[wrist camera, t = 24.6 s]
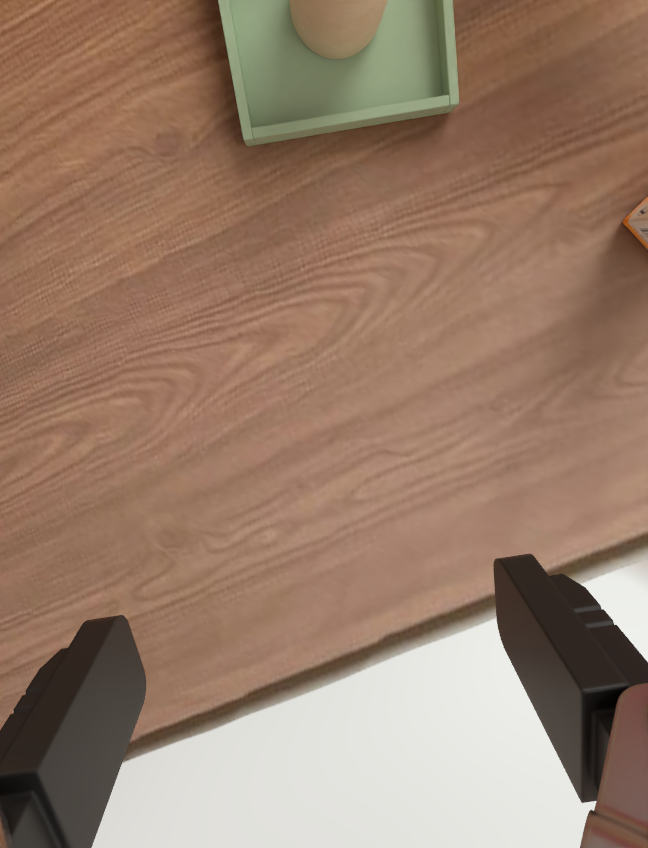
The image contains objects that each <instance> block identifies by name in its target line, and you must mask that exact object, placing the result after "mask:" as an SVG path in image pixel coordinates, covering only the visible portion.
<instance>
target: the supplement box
mask: <svg viewBox="0 0 648 848" xmlns="http://www.w3.org/2000/svg"><path fill="white" fill-rule="evenodd" d="M623 223H624V225H625V226H626V227H627V228H629V230H630V231H631V232H632V233H633V234H634V235H635V237H636V238H638V239H639V241H640V242H641V243H642V244H643V245H644V246H645V247H646V249H647V250H648V196H647V197H646V198H645V199H644V200H643V201H642V202H641V203H640V204H639V205H638V206H637V207H636V208H635V209H634V210H633V211H632V212H631V213H630V214H629V215H628V216H627V217H626V218H625V219H624V220H623Z"/></svg>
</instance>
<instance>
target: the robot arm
mask: <svg viewBox="0 0 648 848" xmlns="http://www.w3.org/2000/svg"><path fill="white" fill-rule="evenodd" d="M494 583H495V599H496V615H497V624H498V629H499V633H500V637H501V640H502V643H503V646H504V648H505V651H506V652H507V655H508V656H509V658H510V660H511V663H512V665H513V667H514V668H515V671H516V672H517V675H518V677H519V679H520V681H521V683H522V685H523V687H524V689H525V691H526V693H527V695H528V697H529V699H530V701H531V703H532V704H533V706H534V709H535V710H536V712H537V715H538V717H539V719H540V720H541V722H542V725H543V726H544V729H545V730H546V733H547V735H548V736H549V738H550V741H551V743H552V745H553V746H554V749H555V751H556V752H557V754H558V756H559V758H560V760H561V762H562V764H563V766H564V768H565V770H566V772H567V774H568V776H569V778H570V780H571V782H572V784H573V786H574V788H575V790H576V792H577V794H578V796H579V798H580V800H581V802H582V803H584V802H590V801H597V803H596V806H595V810H594V811H592V810H590V811H589V814H588V816H587V820H586V823H585V828H584V832H583V837H582V841H581V846H580V848H648V662H647V661H646V660H645V659H644V658H643V656H642V655H641V654H640V653H639V651H638V650H637V649H636V648H635V647H634V645H633V644H632V643H631V642H630V641H629V639H628V638H627V637H626V636H625V635H624V633H623V632H622V631H621V630H620V629H619V627H618V626H617V625H614V623H613V620H612V619H611V618H610V617H609V615H608V614H607V613H606V612H605V611H604V610H602V609H601V607H600V605H599V603H598V602H597V601H596V600H595V599H594V597H593V596H592V595H591V594H590V593H589V591H588V590H587V589H586V588H585V587H583V586H582V585H580V584H578V583H577V582H575V581H574V580H572V579H570V578H569V577H567V576H565V575H564V574H559V575H552V576H548V574H547V573H546V572H545V570H544V569H543V568H542V566H541V565H540V564H539V562H538V561H537V560H536V558H535V557H534V556H533V555H532V554H525V555H518V556H512V557H505V558H499V559H495V561H494ZM145 693H146V677H145V671H144V668H143V665H142V662H141V659H140V656H139V653H138V650H137V647H136V644H135V641H134V638H133V635H132V632H131V629H130V626H129V623H128V621H127V619H126V618H125V617H124V616H123V615H119V616H113V617H106V618H99V619H93V620H87V621H85V622H84V623H83V624H82V626H81V627H80V629H79V631H78V632H77V634H76V636H75V637H74V639H73V641H72V642H71V644H70V646H69V647H68V648H65V649H61V650H60V651H59V652H57V653H56V654H55V655H54V656H53V657H52V658H51V659H50V660H49V661H48V662H47V663H46V664H45V665H44V666H42V667H41V668H40V669H39V671H38V672H37V674H36V676H35V677H34V679H33V680H32V682H31V683H30V685H29V687H28V688H27V690H26V695H23V696H22V697H21V699H20V701H19V702H18V704H17V705H16V707H15V708H14V714H11V715H10V716H9V718H8V719H7V721H6V723H5V724H4V726H3V727H2V729H1V730H0V848H91V847H92V845H93V842H94V839H95V836H96V833H97V831H98V828H99V825H100V822H101V820H102V817H103V814H104V811H105V808H106V806H107V803H108V800H109V797H110V795H111V792H112V789H113V786H114V783H115V781H116V778H117V775H118V772H119V769H120V767H121V764H122V761H123V759H124V756H125V753H126V750H127V748H128V745H129V742H130V739H131V736H132V734H133V731H134V728H135V725H136V723H137V720H138V717H139V714H140V711H141V709H142V706H143V703H144V699H145Z"/></svg>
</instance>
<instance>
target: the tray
mask: <svg viewBox="0 0 648 848" xmlns="http://www.w3.org/2000/svg"><path fill="white" fill-rule="evenodd" d="M218 4H219V10H220V15H221V21H222V26H223V32H224V37H225V42H226V48H227V53H228V59H229V64H230V70H231V75H232V81H233V86H234V92H235V97H236V103H237V108H238V114H239V119H240V124H241V130H242V135H243V140H244V142H245V144H246V145H247V146H253V145H259V144H265V143H271V142H277V141H283V140H289V139H295V138H301V137H307V136H313V135H319V134H325V133H331V132H337V131H342V130H348V129H354V128H360V127H366V126H372V125H378V124H384V123H390V122H396V121H402V120H408V119H414V118H420V117H426V116H432V115H437V114H443V113H449V112H451V111H452V110H453V109H454V108H455V107H456V106H457V105H458V104H459V90H458V74H457V59H456V43H455V28H454V12H453V0H388V1H387V4H386V7H385V10H384V13H383V16H382V19H381V22H380V25H379V27H378V29H377V32H376V33H375V35H374V37H373V38H372V40H371V41H370V42H369V44H368V45H367V46H366V47H365V48H364V49H362V50H361V51H360V52H359V53H357V54H355V55H353V56H351V57H348V58H344V59H328V58H325V57H322V56H319V55H318V54H316V53H314V52H313V51H312V50H310V49H309V48H308V47H307V46H306V45H305V44H304V42H303V41H302V40H301V38H300V37H299V35H298V33H297V31H296V29H295V27H294V24H293V21H292V17H291V12H290V3H289V0H218Z"/></svg>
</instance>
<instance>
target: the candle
mask: <svg viewBox="0 0 648 848" xmlns="http://www.w3.org/2000/svg"><path fill="white" fill-rule="evenodd" d="M387 1H388V0H289V3H290V12H291V17H292V21H293V24H294V27H295V29H296V31H297V33H298V35H299V37H300V38H301V40H302V41H303V42H304V44H305V45H306V46H307V47H308V48H309V49H310V50H312V51H313V52H314V53H316V54H318V55H319V56H322V57H325V58H328V59H344V58H348V57H351V56H353V55H355V54H357V53H359V52H360V51H361V50H362V49H364V48H365V47H366V46H367V45H368V44H369V42H370V41H371V40H372V38H373V37H374V35H375V33H376V32H377V29H378V27H379V25H380V22H381V19H382V16H383V13H384V10H385V7H386V4H387Z"/></svg>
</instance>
